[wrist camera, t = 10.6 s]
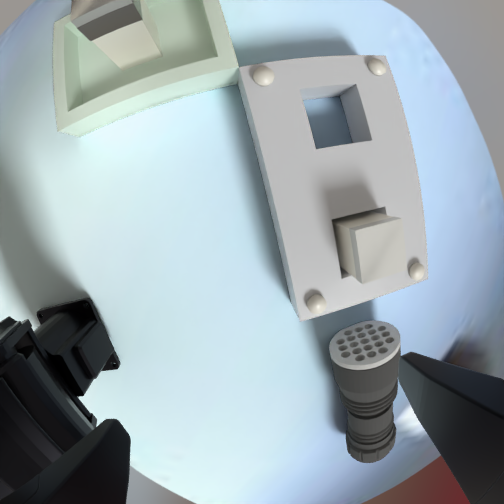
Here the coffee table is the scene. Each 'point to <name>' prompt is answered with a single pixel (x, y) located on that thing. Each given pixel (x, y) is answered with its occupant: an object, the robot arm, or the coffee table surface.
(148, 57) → the block
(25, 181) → the coffee table surface
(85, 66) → the parts tray
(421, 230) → the fuse block
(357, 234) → the block
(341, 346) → the flashlight
